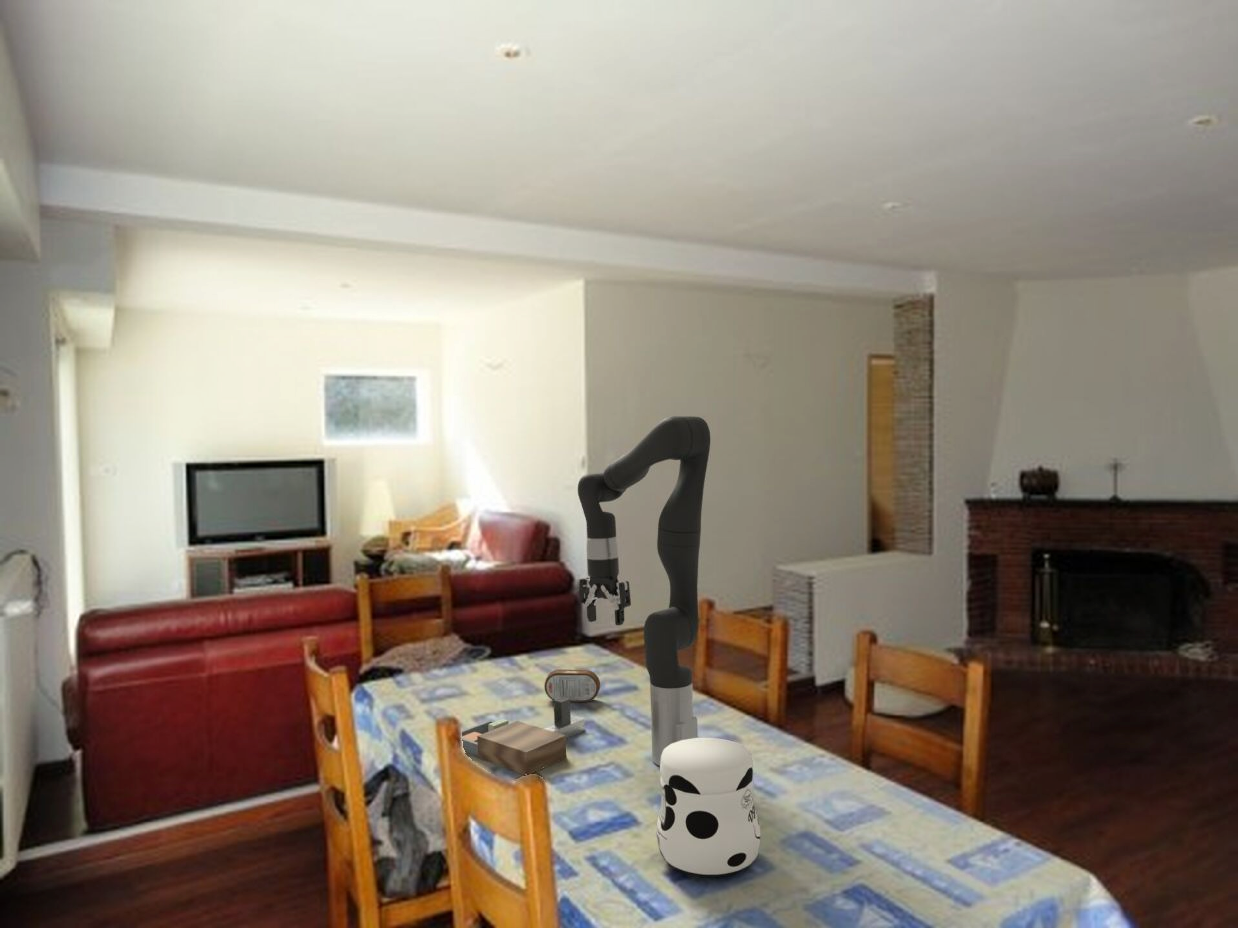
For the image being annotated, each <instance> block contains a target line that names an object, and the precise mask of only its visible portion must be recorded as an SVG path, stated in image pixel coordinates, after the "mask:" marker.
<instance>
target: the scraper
mask: <svg viewBox="0 0 1238 928" xmlns="http://www.w3.org/2000/svg"><path fill="white" fill-rule="evenodd" d="M553 714H554V715H553V716H554V717H553V720H554V721H553V722H554V724H552V725H550V726H548V727H545V728H544V729H546V730H549V731H553V732H556V733H559V734H562V735H566V739H568V738H570V737H573V736H574V735H576V734H579V733H581V732H583V730H584V731H585V730H586V729H585V728H586V727H585V726H586V725H585V718H584V717H580V716H577V715H575V716H572V717H571V715H572V714H571V702H570V699H568V698H565V697H561V698H558V699H556V700H553ZM567 737H568V738H567Z"/></svg>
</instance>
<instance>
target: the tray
mask: <svg viewBox="0 0 1238 928" xmlns="http://www.w3.org/2000/svg"><path fill="white" fill-rule="evenodd" d="M495 721H496V720H492V719H490V720H487V721H484V722H482V723H479V724H475V725H473V726H471V727H468V728H465V729H463V730H461V731H462V736H465V735H467V734H470V733H473V732H477V733H480V734H484V733H486V732H488V724H490V723H493V722H495ZM462 741H463V748H464V750H465V752H466V753H465V754H466V755H469V756H472V757H474V758H477V759H479V758H478V743H477V742H474V741H471V740H468V739H465V738H462Z"/></svg>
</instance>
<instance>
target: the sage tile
mask: <svg viewBox="0 0 1238 928" xmlns="http://www.w3.org/2000/svg"><path fill="white" fill-rule="evenodd" d="M494 721H495V722H493V723H490V724H488V732H489V731H492V730H494V729H497V728H499V727H502V726H505V725H507V724H510V723H509V720H508V719H505V718H502V719H498V720H494Z"/></svg>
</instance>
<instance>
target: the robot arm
mask: <svg viewBox="0 0 1238 928" xmlns="http://www.w3.org/2000/svg"><path fill="white" fill-rule="evenodd" d="M710 449H711V432H710V427H709V426H708V423H707V422H706V420H705V419H704V418H702V417H700V416H692V415H690V416H687V415H686V416H677V415H676V416H667V417H666V418H663V419H662V420H661V421H660V422H658V423H657V424H655V426H653V428H652V429H651V430H650V431H649V432H647V434H646V435H645V436H644V437H643V438H642V439H641V440H640V441H639V442H638V443H637V444H636V445H635V446H634V447H632V449H630V450H629V451H627V452H626V453H624V454H623V455H621V456H619V457H618V458H617V459H615V460H614V461H612V462H611V463H609V464H608V465H607V466H606V467H605V469H604V471H603V472H599V473H588V474H587V473H586V474H584V475H583V476H581V477H580V478H579V481H578V484H577V495H578V499H579V503H580V504H581V508H582V510H583V512H582V513H583V515H584V518H585V523H586V538H587V539H586V562H587V563H586V564H587V565H586V566H587V576H589V577H585V578H581V579H579V584H578V585H579V586H578V587H579V595H578V596H579V597H578V598H579V603H580V604H584V605H585V607H586V617H587V620H588V622H590V623H594V622H596V621H597V605H595V604H596V603H597V601H598V599H603V600H604V599H605V600H608V601H609V602H610V603H611V604H612V606H613V607H614V623H615V624H614V625H616V626H622V625H623V624H624V623H625V609H626V608H628V607H630V606H631V605H632V603H631V602H632V601H631V590H630V582H629V581H628V580H625V581H619V578H618V576H619V574H620V567H619V564H620V562H619V546H618V541H617V540H618V539H617V523H616V517H615V514H613V513H612V512H609V511H603V508H602V506H601V504H600V503H607V502H613V501H615V500H617V499H619V498H620V497H621V496H622V495H623V494H624V493H625V492H626V491H627V489H628V488H631V487H633V486H634V485H636V484H638V482H641V480H643V479H644V478H645V477H646V476H647V475H648V473H649V471H650V469H651V467H652V466H653V465H655V464H658V463H661V462H664V461H669V460H673V461H679V470H678V476H677V480H676V483H675V486H674V488H673V490H672V492H671V494H670V495H669V497H668V499H667V500H666V502H665V504H664V506H663V508H662V510H661V513H660V514H659V519H658V522H657V523H658V524H657V538H656V539H657V540H656V546H657V547H656V548H657V554H658V556H659V559H660V562H661V564H662V566H663V569H664V571H665V572H666V575H667V579H668V581H669V588H670V589H669V594H670V595H669V603H668V604H669V605H668V608H665V609H661V610H658V611H655V612H651V614H649V615H648V616H647V617H646V619H645V622H644V626H643V645H644V655H645V666H646V669H647V673H648V675H649V682H650V683H649V685H650V688H649V689H650V690H649V691H650V692H649V693H650V721H651V722H650V726H651V727H650V728H651V729H650V730H651V753H652V754H651V757H652V762H653V763H654V764H655V765H657V766H659V767H660V762H661V755H662V752H663V750H664V749H665V748H666V747H667V746H669V745H670V744H672V743H675V742H678V741H681V740H686V739H692V738H699V736H698V717H697V716H694V706H693V705H694V704H693V701H694V700H693V699H694V698H693V693H694V692H693V671H692V669H691V668H690V667H689V666H687V665H684V664H680V662H679V656H678V655H679V653H678V651H682V650H684V649H687V648H690V647H691V646H692V645H694V644H695V642H696V640H697V637H698V636H699V635H698V634H699V627H700V626H699V598H698V596H699V595H698V583H699V580H698V579H699V578H698V577H699V558H700V557H699V555H700V547H701V532H702V512H703V511H702V509H703V499H704V498H703V497H704V489H705V482H706V481H705V480H706V479H705V478H706V474H707V473H706V472H707V469H708V462H709V456H710Z"/></svg>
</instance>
